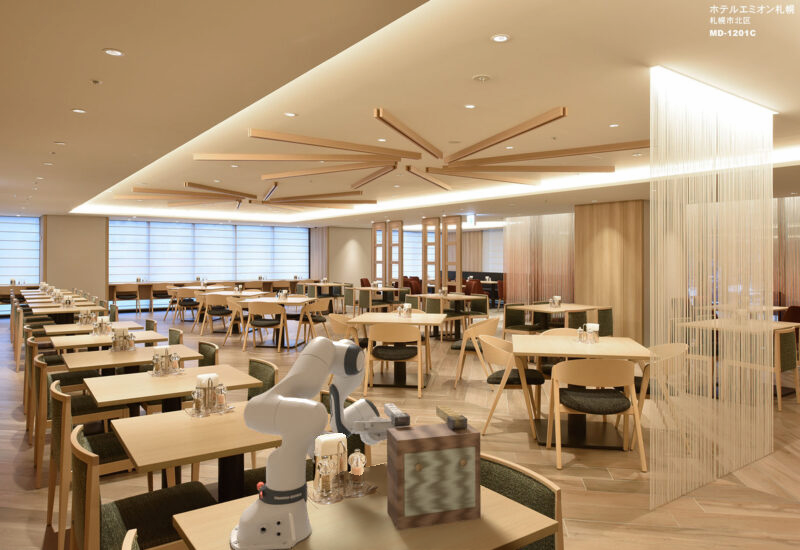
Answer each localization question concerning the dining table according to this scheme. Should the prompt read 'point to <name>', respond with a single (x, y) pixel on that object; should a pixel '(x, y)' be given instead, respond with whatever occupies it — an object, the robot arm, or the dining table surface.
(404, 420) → the steel handle
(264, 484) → the robot arm
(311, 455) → the teacup
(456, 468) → the wooden box
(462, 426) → the brass handle
